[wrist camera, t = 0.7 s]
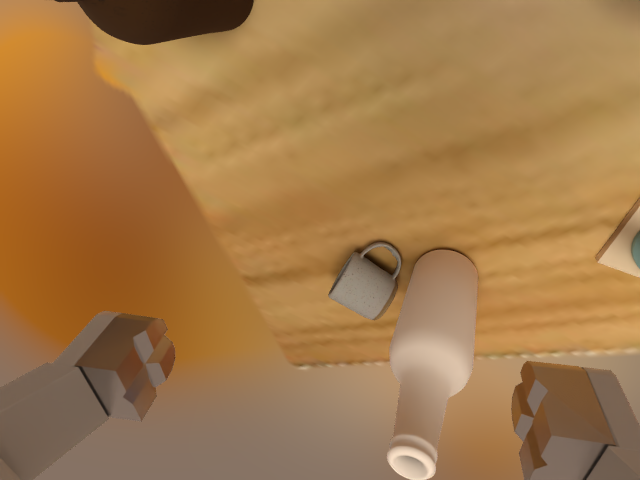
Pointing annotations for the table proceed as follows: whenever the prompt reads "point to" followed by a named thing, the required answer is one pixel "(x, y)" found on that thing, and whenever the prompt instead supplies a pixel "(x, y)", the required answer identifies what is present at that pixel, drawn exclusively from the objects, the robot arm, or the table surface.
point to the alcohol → (431, 356)
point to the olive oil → (164, 17)
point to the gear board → (624, 245)
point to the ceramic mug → (366, 284)
